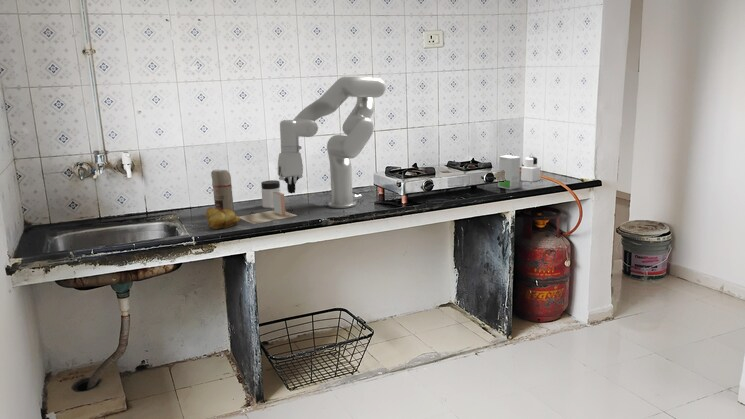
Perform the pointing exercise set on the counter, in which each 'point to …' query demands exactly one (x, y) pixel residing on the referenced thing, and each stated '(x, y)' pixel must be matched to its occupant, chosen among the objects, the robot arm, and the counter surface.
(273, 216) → the packaged sliced meat
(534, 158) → the medicine bottle
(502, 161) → the skincare box
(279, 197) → the tile
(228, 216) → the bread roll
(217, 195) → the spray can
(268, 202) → the jar
